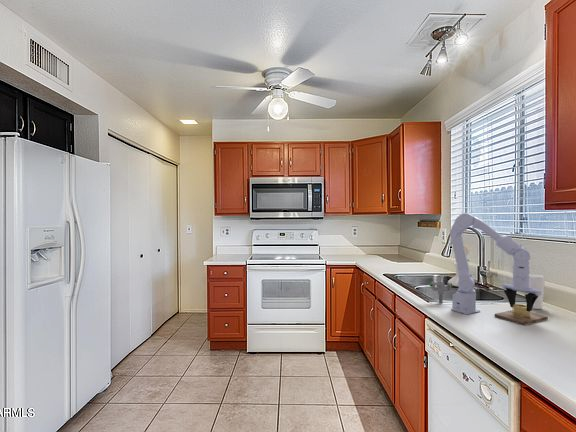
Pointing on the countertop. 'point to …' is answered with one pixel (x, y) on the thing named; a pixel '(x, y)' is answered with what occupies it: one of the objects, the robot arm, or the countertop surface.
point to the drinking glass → (537, 288)
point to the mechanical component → (440, 289)
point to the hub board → (521, 320)
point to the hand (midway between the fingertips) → (520, 309)
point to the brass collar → (520, 310)
